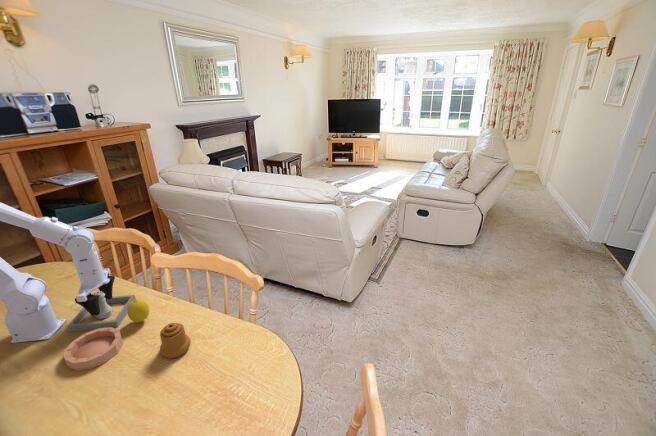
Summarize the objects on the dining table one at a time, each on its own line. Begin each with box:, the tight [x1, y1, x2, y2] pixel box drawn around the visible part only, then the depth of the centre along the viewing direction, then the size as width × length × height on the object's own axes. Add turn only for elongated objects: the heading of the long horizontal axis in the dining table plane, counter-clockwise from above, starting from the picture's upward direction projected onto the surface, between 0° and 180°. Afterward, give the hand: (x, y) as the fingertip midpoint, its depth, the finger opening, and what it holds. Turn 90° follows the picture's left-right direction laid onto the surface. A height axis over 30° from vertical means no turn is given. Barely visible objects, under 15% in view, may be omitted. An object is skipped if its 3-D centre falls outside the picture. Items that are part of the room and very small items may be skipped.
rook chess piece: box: [93, 290, 114, 320], centre depth 93 cm, size 4×4×8 cm
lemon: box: [126, 298, 150, 323], centre depth 90 cm, size 6×6×8 cm
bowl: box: [63, 327, 124, 371], centre depth 81 cm, size 12×12×3 cm
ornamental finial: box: [159, 322, 192, 359], centre depth 81 cm, size 8×8×8 cm
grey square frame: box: [66, 294, 137, 333], centre depth 94 cm, size 13×13×2 cm
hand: (102, 306), depth 93 cm, fingers open, 7 cm apart
